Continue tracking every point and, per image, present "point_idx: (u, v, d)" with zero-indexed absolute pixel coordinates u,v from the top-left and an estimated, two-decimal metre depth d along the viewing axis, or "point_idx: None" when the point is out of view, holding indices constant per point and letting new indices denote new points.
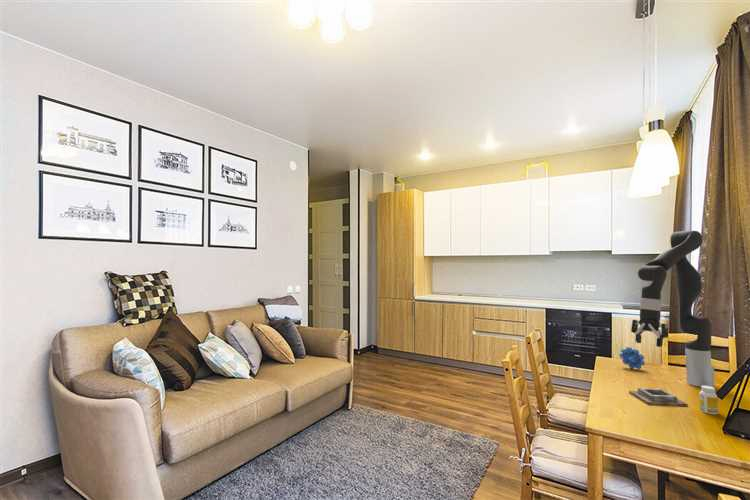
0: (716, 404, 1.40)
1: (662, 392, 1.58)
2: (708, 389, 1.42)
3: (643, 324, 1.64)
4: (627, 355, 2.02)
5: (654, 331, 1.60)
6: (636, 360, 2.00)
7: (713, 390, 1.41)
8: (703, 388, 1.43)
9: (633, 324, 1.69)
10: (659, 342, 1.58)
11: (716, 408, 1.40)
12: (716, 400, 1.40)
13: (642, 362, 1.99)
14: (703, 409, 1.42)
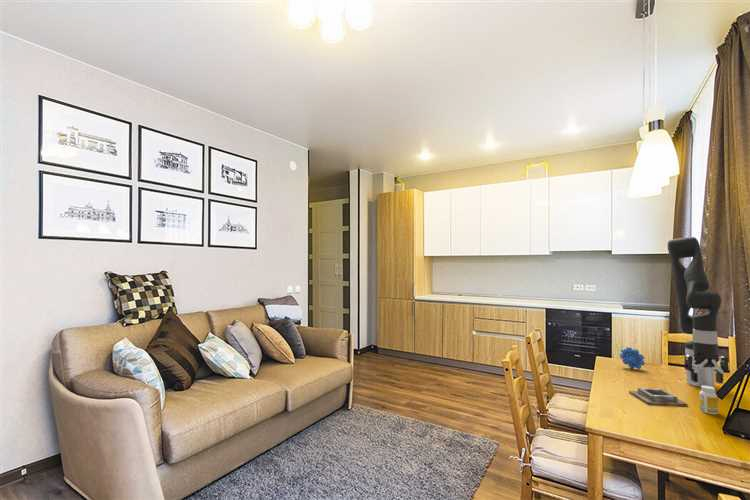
0: (716, 404, 1.40)
1: (662, 392, 1.58)
2: (708, 389, 1.42)
3: (705, 361, 1.42)
4: (627, 355, 2.02)
5: (718, 367, 1.41)
6: (636, 360, 2.00)
7: (713, 390, 1.41)
8: (703, 388, 1.43)
9: (690, 361, 1.43)
10: (722, 378, 1.42)
11: (716, 408, 1.40)
12: (716, 400, 1.40)
13: (642, 362, 1.99)
14: (703, 409, 1.42)
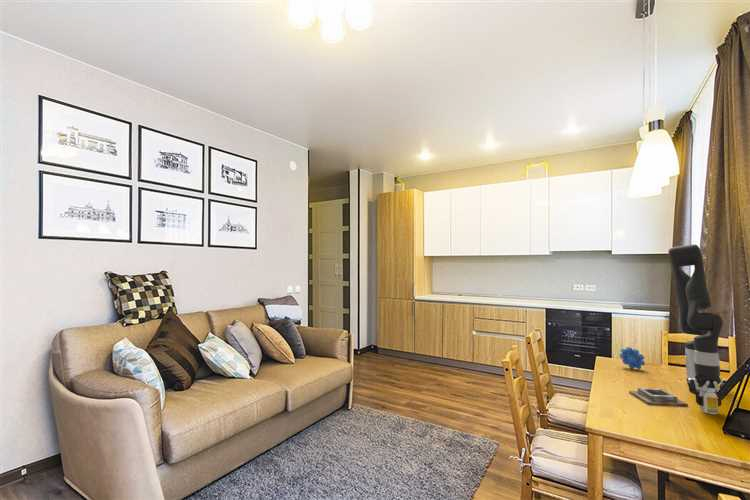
0: (716, 404, 1.40)
1: (662, 392, 1.58)
2: (708, 389, 1.42)
3: (707, 382, 1.41)
4: (627, 355, 2.02)
5: (718, 390, 1.41)
6: (636, 360, 2.00)
7: (713, 390, 1.41)
8: None
9: (693, 385, 1.43)
10: (720, 401, 1.42)
11: (716, 408, 1.40)
12: (716, 400, 1.40)
13: (642, 362, 1.99)
14: (703, 409, 1.42)
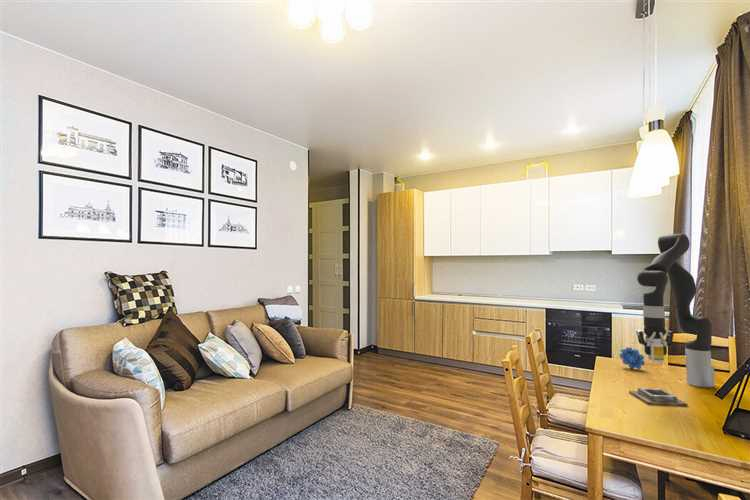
0: (661, 353, 1.54)
1: (662, 392, 1.58)
2: (655, 339, 1.56)
3: (654, 333, 1.56)
4: (627, 355, 2.02)
5: (663, 340, 1.55)
6: (636, 360, 2.00)
7: (659, 340, 1.55)
8: None
9: (642, 336, 1.57)
10: (666, 350, 1.56)
11: (661, 356, 1.54)
12: (662, 349, 1.54)
13: (642, 362, 1.99)
14: (650, 358, 1.56)
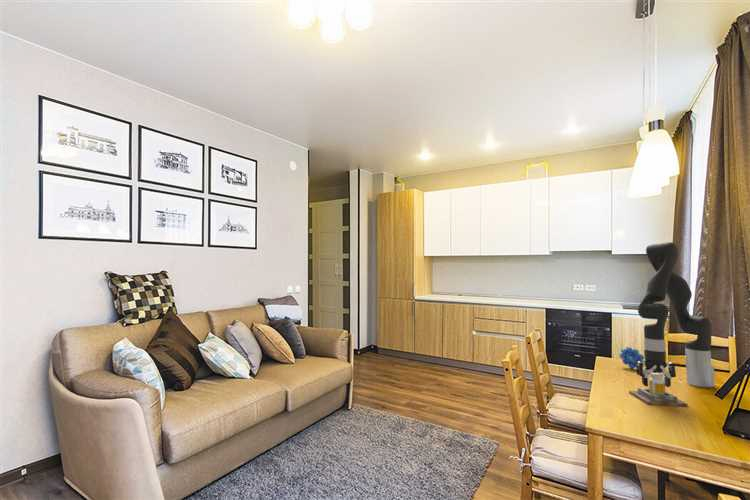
0: (663, 390, 1.54)
1: None
2: (656, 376, 1.55)
3: (654, 366, 1.55)
4: (627, 355, 2.02)
5: (666, 372, 1.55)
6: (636, 360, 2.00)
7: (660, 377, 1.55)
8: (652, 375, 1.57)
9: (641, 367, 1.57)
10: (669, 382, 1.55)
11: (663, 393, 1.54)
12: (663, 386, 1.54)
13: None
14: None
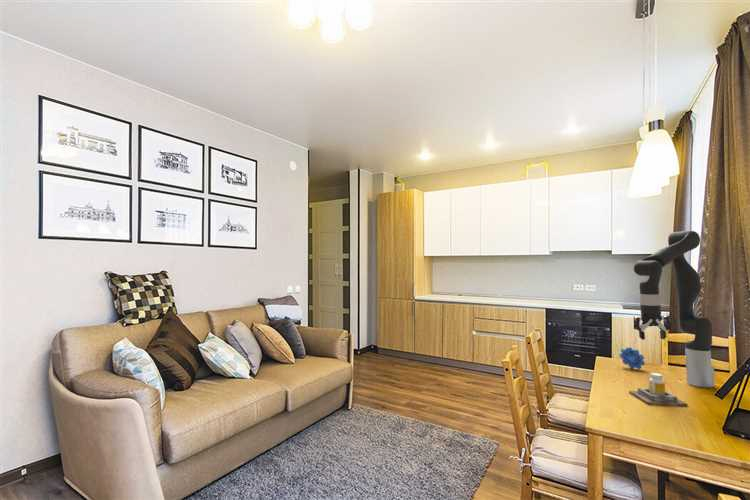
0: (663, 389, 1.54)
1: None
2: (656, 376, 1.55)
3: (650, 320, 1.63)
4: (627, 355, 2.02)
5: (661, 325, 1.63)
6: (636, 360, 2.00)
7: (660, 377, 1.55)
8: (652, 375, 1.57)
9: (638, 322, 1.65)
10: (665, 335, 1.63)
11: (663, 393, 1.54)
12: (663, 386, 1.54)
13: (642, 362, 1.99)
14: None
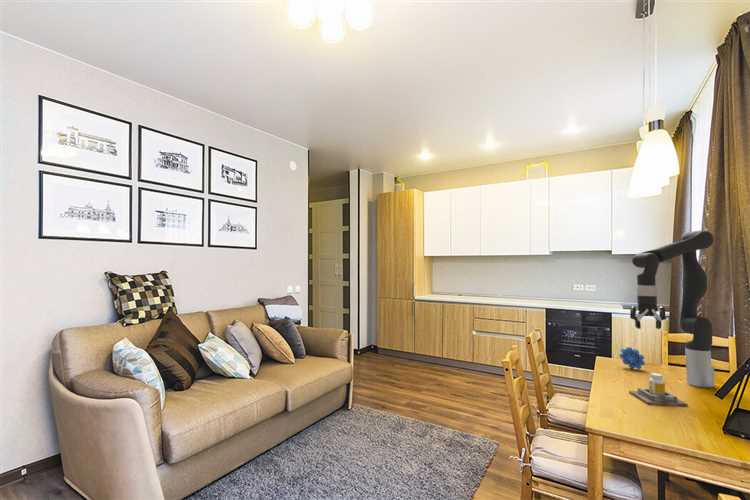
0: (663, 389, 1.54)
1: None
2: (656, 376, 1.55)
3: (646, 310, 1.70)
4: (627, 355, 2.02)
5: (657, 315, 1.70)
6: (636, 360, 2.00)
7: (660, 377, 1.55)
8: (652, 375, 1.57)
9: (634, 311, 1.72)
10: (660, 324, 1.70)
11: (663, 393, 1.54)
12: (663, 386, 1.54)
13: (642, 362, 1.99)
14: None
